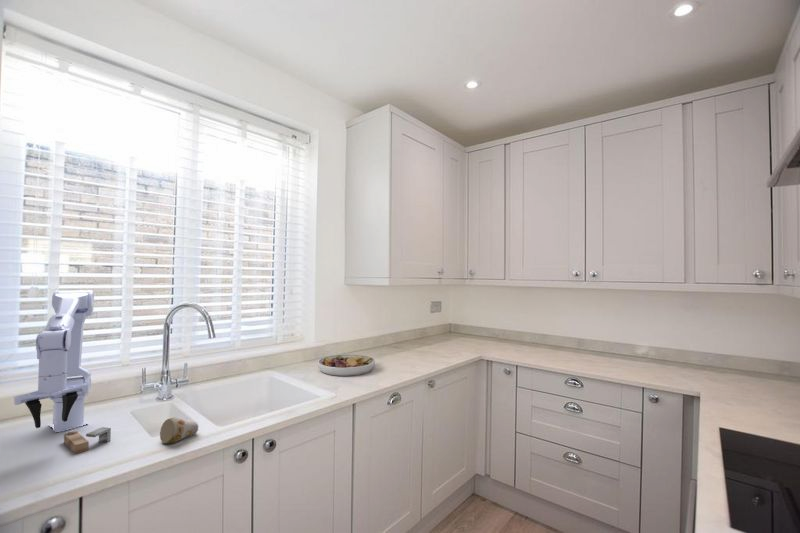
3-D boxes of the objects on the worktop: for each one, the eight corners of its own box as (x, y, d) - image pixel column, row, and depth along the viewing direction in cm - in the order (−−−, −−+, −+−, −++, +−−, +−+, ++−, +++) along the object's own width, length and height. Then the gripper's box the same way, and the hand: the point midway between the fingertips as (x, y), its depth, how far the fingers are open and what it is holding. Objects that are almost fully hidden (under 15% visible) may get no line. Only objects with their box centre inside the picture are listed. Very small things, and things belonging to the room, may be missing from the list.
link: (62, 442, 109) (62, 431, 109) (75, 438, 111) (76, 428, 111) (74, 454, 102) (75, 443, 102) (88, 449, 104) (89, 439, 104)
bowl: (327, 362, 211) (327, 348, 211) (379, 364, 208) (379, 350, 208) (309, 376, 181) (309, 360, 181) (369, 379, 178) (369, 362, 179)
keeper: (85, 447, 106) (86, 433, 106) (102, 440, 110) (102, 427, 111) (94, 448, 105) (94, 434, 105) (110, 441, 110) (110, 427, 110)
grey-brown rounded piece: (205, 435, 115) (194, 413, 110) (173, 459, 109) (160, 437, 104) (194, 423, 119) (183, 402, 115) (163, 446, 113) (150, 424, 108)
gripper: (18, 382, 94) (16, 436, 93) (90, 370, 106) (89, 418, 105) (12, 378, 98) (11, 429, 98) (83, 367, 110) (81, 413, 109)
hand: (51, 423), depth 102 cm, fingers open, 5 cm apart
